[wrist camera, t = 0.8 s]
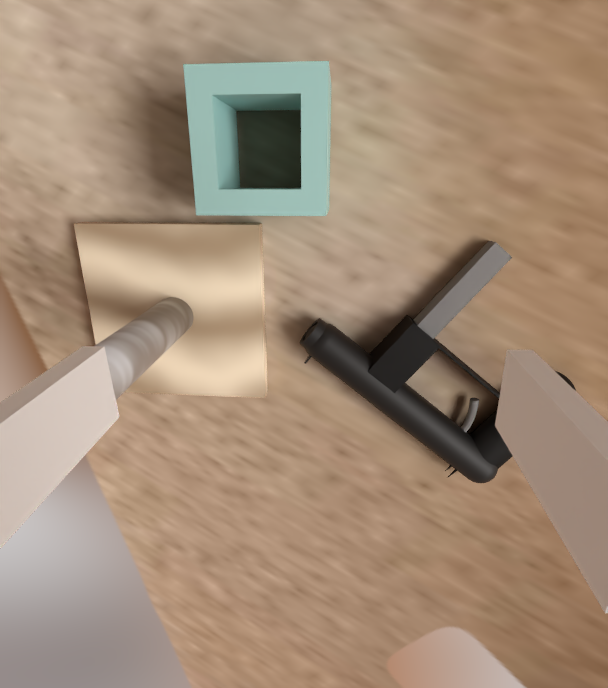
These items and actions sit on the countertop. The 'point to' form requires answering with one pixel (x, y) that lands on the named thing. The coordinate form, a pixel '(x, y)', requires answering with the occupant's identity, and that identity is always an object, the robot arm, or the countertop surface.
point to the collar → (222, 138)
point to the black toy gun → (407, 357)
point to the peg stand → (178, 305)
